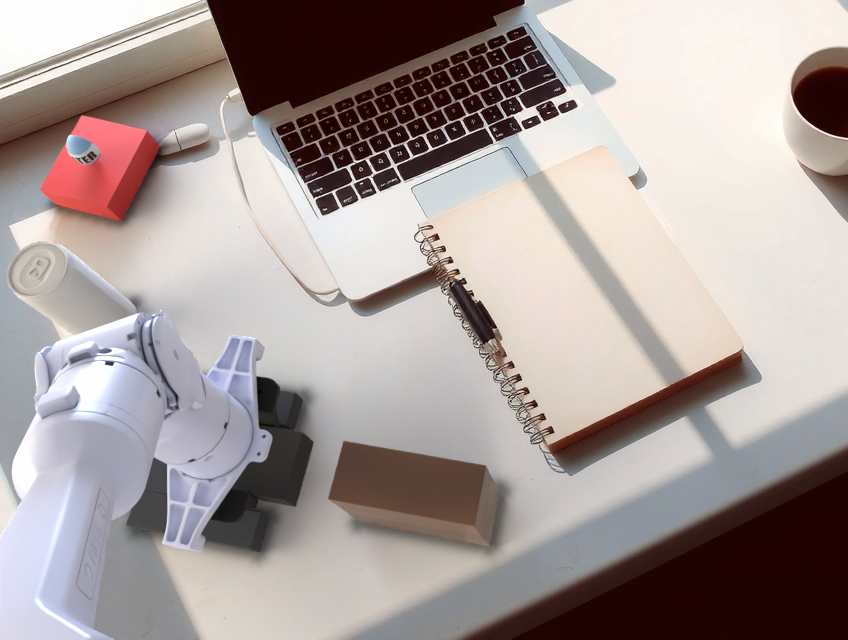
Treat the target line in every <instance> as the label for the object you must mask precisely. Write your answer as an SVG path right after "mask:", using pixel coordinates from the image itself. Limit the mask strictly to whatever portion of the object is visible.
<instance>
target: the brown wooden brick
mask: <svg viewBox="0 0 848 640" xmlns="http://www.w3.org/2000/svg"><path fill="white" fill-rule="evenodd" d="M499 498H500V491H499V489H498V487H497V484H496V483H495V480H494V479H493V477H492V475H491V472H490V471H489V469H488V466H487V465H486V464H480V463H474V462H471V461H470V462H469V461H464V460H457V459H452V458H448V457H447V458H445V457H440V456H434V455H428V454H422V453H418V452H411V451H405V450H400V449H394V448H388V447H383V446H378V445H377V446H376V445H371V444H366V443H359V442H354V441H348V440H343V441H342V444H341V448H340V452H339V455H338V459H337V463H336V468H335V471H334V474H333V479H332V482H331V486H330V490H329V494H328V497H327V499H328V501H330V502H331V503H333V504H334V505H335V506H337V507H339V508H340V509H341V510H343V511H344V512H345V513H347V514H349V516H351V517H352V518H354V519H355V520H357V521H358V522H360V523H362V524H368V525H373V526H377V527H378V526H379V527H382V528H383V527H385V528H389V529H394V530H399V531H405V532H411V533H414V534H415V533H416V534H421V535H426V536H432V537H438V538H443V539H447V540H453V541H459V542H464V543H470V544H474V545H475V544H476V545H481V546H485V547H489V546H490V544H491V539H492V535H493V529H494V525H495V524H494V523H495V518H496V513H497V508H498V503H499Z"/></svg>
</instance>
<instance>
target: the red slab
mask: <svg viewBox="0 0 848 640" xmlns="http://www.w3.org/2000/svg"><path fill="white" fill-rule="evenodd" d="M150 133H151V132H149V130H147V129H143V128H138V127H136V126H135V127H134V126H130V125H126V124H121V123H117V122H112V121H109V120H104V119H100V118H95V117H91V116H87V115H83V114H82V115H81V116H80V117H79V118H78V121H77V123H76V124H75V126H74V128H73V130H72V131H71V133H70V134H69V135H68V136H67V138H66V142H65V144H64V146H63V147H62V149H61V151H60V153H59V154H58V156H57V158H56V160H55V161H54V163H53V165H52V167H51V168H50V170H49V172H48V174H47V175H46V177H45V178H44V181H43V182H42V184H41V186H40V187H39V191H40V192H41V193H43V194H44V196H46V197H47V198H48V199H49V200H50V201H52V203H54V205H57V206H59V207H64V208H68V209H72V210H76V211H79V212H84V213H87V214H91V215H95V216H99V217H104V218H107V219H111V220H115V221H118V222H123V219H124V218H125V215H126V214H127V212H128V210H129V208H130V206H131V204H132V202H133V201H134V198H135V197H136V194H137V192H138V191H139V188H140V187H141V185H142V183H143V181H144V179H145V177H146V176H147V173H148V171H149V169H150V167H151V165H152V164H153V162H154V160H155V158H156V156H157V154H158V152H159V150H160V148H161V146H160V145H159V142H157V141H156V139H155V138H154V137H153V135H152V134H150Z"/></svg>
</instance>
